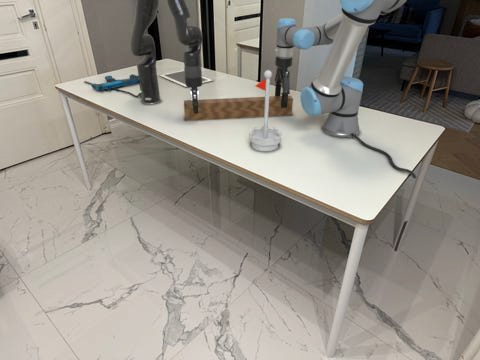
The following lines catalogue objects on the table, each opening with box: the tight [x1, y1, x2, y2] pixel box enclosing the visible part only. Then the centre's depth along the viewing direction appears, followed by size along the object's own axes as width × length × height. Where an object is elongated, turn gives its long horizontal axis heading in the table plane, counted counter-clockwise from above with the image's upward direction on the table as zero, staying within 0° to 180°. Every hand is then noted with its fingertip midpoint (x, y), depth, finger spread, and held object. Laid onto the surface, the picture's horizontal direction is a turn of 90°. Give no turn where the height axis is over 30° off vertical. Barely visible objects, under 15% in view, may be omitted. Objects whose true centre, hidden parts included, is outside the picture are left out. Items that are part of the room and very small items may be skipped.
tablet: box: [158, 69, 214, 88], centre depth 216 cm, size 32×20×1 cm, turn 41°
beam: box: [183, 95, 294, 122], centre depth 162 cm, size 51×5×8 cm, turn 97°
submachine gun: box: [90, 73, 140, 92], centre depth 207 cm, size 34×4×25 cm
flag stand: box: [248, 69, 283, 152], centre depth 130 cm, size 13×13×30 cm
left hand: (196, 111), depth 160 cm, fingers closed on beam, 4 cm apart
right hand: (280, 102), depth 163 cm, fingers open, 13 cm apart
